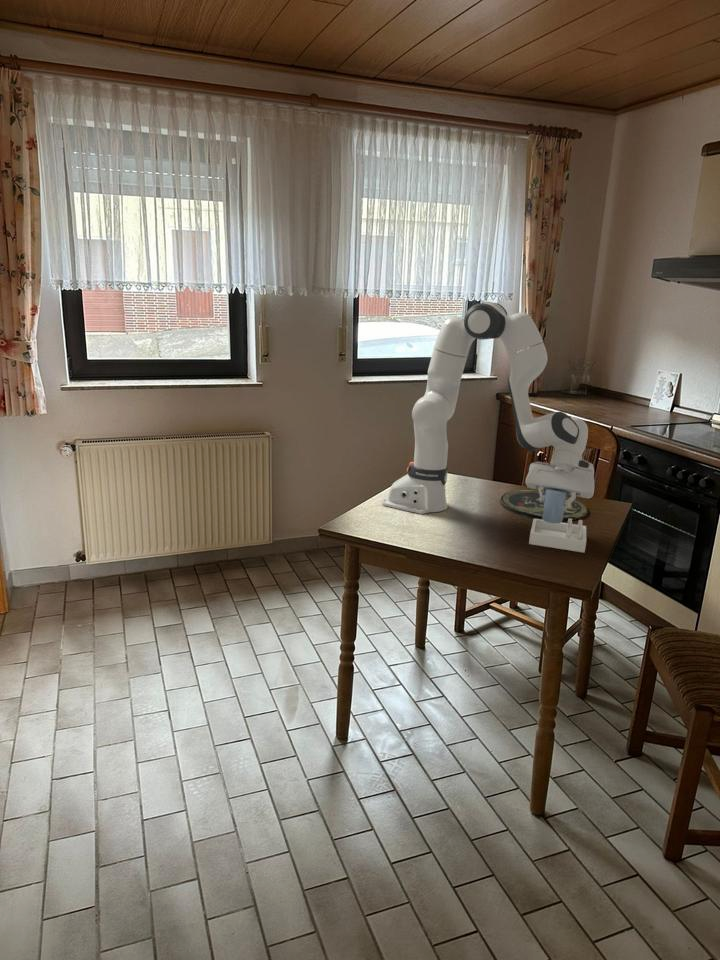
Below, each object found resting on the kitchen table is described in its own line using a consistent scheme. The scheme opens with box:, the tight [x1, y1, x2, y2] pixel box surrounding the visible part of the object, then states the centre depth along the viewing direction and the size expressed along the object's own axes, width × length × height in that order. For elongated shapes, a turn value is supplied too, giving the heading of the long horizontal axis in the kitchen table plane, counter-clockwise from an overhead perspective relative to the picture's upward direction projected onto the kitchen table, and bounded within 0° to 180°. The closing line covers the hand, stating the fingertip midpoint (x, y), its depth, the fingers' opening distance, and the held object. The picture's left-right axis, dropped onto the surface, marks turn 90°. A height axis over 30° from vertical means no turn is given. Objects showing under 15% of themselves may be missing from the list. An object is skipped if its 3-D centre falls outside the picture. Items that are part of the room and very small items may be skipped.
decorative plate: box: [499, 489, 588, 522], centre depth 236 cm, size 30×2×30 cm
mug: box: [542, 489, 567, 523], centre depth 202 cm, size 6×8×9 cm
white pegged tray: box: [528, 518, 587, 553], centre depth 204 cm, size 16×14×6 cm
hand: (554, 503), depth 202 cm, fingers closed on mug, 6 cm apart
